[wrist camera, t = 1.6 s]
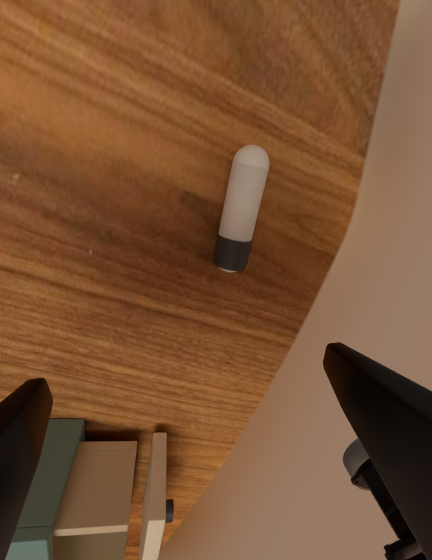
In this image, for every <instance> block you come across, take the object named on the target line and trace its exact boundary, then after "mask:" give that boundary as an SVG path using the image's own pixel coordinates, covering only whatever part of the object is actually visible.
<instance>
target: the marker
mask: <svg viewBox="0 0 432 560" xmlns="http://www.w3.org/2000/svg"><path fill="white" fill-rule="evenodd" d="M269 165H270V162H269V157H268V155H267V153H266V151H265V150H264V149H263V148H262V147H260V146H258V145H252V144H251V145H246V146H244V147H242V148H240V149H239V150H238V151H237V153H236V154H235V156H234V158H233V162H232V167H231V172H230V177H229V182H228V188H227V193H226V198H225V203H224V208H223V213H222V218H221V223H220V228H219V233H218V235H217V241H216V246H215V251H214V256H213V263H214V264H215V265H216V266H218V267H219V268H220V269H221V270H223V271H225V272H236V271H242V270H244V269H245V268H246V264H247V260H248V256H249V252H250V248H251V244H252V236H253V232H254V228H255V224H256V219H257V215H258V211H259V207H260V203H261V199H262V195H263V191H264V187H265V183H266V179H267V175H268V171H269Z"/></svg>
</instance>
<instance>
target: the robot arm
mask: <svg viewBox="0 0 432 560" xmlns="http://www.w3.org/2000/svg"><path fill="white" fill-rule="evenodd" d="M323 366H324V370H325V372H326V374H327V376H328V379H329V381H330V383H331V385H332V387H333V390H334V392H335V394H336V397H337V399H338V401H339V403H340V405H341V408H342V409H343V411H344V413H345V415H346V417H347V419H348V420H349V422H350V424H351V426H352V428H353V429H354V431H355V433H356V435H357V437H358V438H359V440H360V442H361V444H362V445H363V447H364V449H365V451H366V452H367V454H368V456H369V458H370V459H371V462H370V463H368V464H367V465H366V466H365V467H364V468H363V469H361V470H360V471H359V472H358V473H357V474H356V475H355V476H353V477H352V478H351V481H352V484H353V485H356V486H359V487H363V488H366V489H369V490H370V491H371V493H372V494H373V496H374V498H375V500H376V501H377V503H378V505H379V507H380V508H381V510H382V512H383V513H384V515H385V517H386V518H387V520H388V522H389V524H390V525H391V527H392V529H393V531H394V532H395V534H396V536H397V537H398V539H399V540H398V541H396V542H394V543H392V544H390V545H389V544H387V545H385V546H384V549H385V551H386V553H385V557H386V559H387V560H432V391H430V390H428V389H426V388H425V387H422V386H421V385H419V384H417V383H415V382H413V381H411V380H410V379H408V378H406V377H404V376H402V375H400V374H398V373H396V372H395V371H393V370H391V369H389V368H387V367H385V366H383V365H381V364H380V363H377V362H376V361H374V360H372V359H370V358H368V357H366V356H364V355H363V354H361V353H359V352H357V351H355V350H353V349H351V348H350V347H348V346H346V345H344V344H342V343H330V344H328V345H327V347H326V351H325V355H324V360H323ZM52 405H53V398H52V394H51V392H50V389H49V386H48V384H47V381H46V380H45V379H44V378H35V379H29V380H27V381H26V382H25V383H23V384H22V385H21V386H20V387H19V388H17V389H16V390H15V391H14V392H13V393H11V394H10V395H9V396H8V397H6V398H5V399H4V400H3V401H2V402H0V560H5V559H6V556H7V554H8V551H9V548H10V545H11V542H12V539H13V536H14V533H15V530H16V527H17V524H18V521H19V519H20V516H21V513H22V510H23V507H24V504H25V501H26V498H27V495H28V492H29V489H30V486H31V484H32V481H33V478H34V475H35V472H36V469H37V466H38V463H39V460H40V456H41V452H42V448H43V444H44V440H45V435H46V431H47V427H48V422H49V418H50V414H51V409H52Z"/></svg>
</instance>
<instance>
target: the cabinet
mask: <svg viewBox="0 0 432 560" xmlns="http://www.w3.org/2000/svg"><path fill="white" fill-rule="evenodd" d="M79 442H85V419H49V422H48V427H47V431H46V435H45V440H44V444H43V448H42V452H41V456H40V460H39V463H38V466H37V469H36V472H35V475H34V478H33V481H32V484H31V486H30V489H29V492H28V495H27V498H26V501H25V504H24V507H23V510H22V513H21V516H20V519H19V521H18V524H17V527H16V530H15V533H14V536H13V539H12V542H11V545H10V548H9V551H8V554H7V556H6V559H5V560H54V554H53V542H52V531H53V528H54V524H55V521H56V518H57V515H58V511H59V508H60V505H61V501H62V498H63V495H64V492H65V488H66V485H67V482H68V478H69V475H70V472H71V469H72V465H73V462H74V459H75V455H76V452H77V449H78V446H79Z"/></svg>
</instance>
